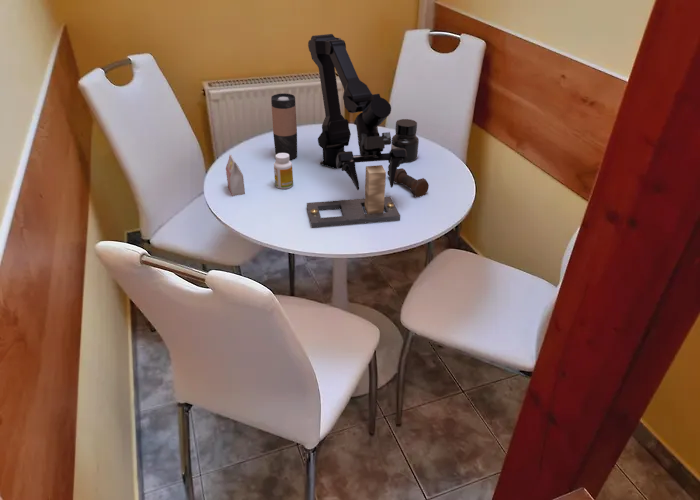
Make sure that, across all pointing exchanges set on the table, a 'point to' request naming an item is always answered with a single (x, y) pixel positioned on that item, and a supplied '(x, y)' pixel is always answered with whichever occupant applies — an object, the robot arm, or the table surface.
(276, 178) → the supplement bottle
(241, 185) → the tea bag
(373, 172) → the birch peg
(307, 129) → the table surface
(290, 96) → the travel mug
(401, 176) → the bolt
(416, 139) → the ink bottle
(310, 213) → the strike plate
